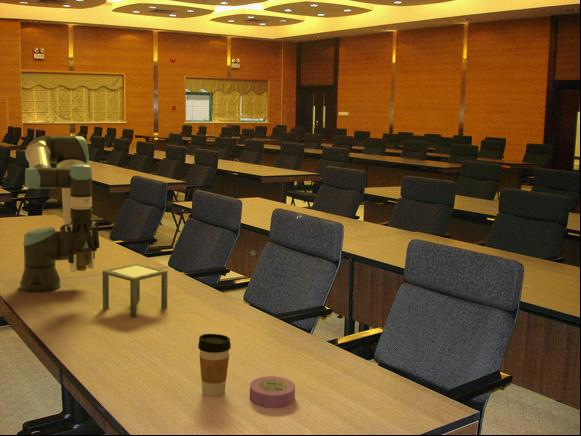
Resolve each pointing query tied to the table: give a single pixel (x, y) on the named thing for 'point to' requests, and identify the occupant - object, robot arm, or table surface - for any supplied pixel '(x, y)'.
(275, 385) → the masking tape
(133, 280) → the trapdoor frame
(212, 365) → the coffee cup
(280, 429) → the table surface
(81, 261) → the dark piece
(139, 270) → the trapdoor
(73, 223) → the robot arm
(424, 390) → the table surface
